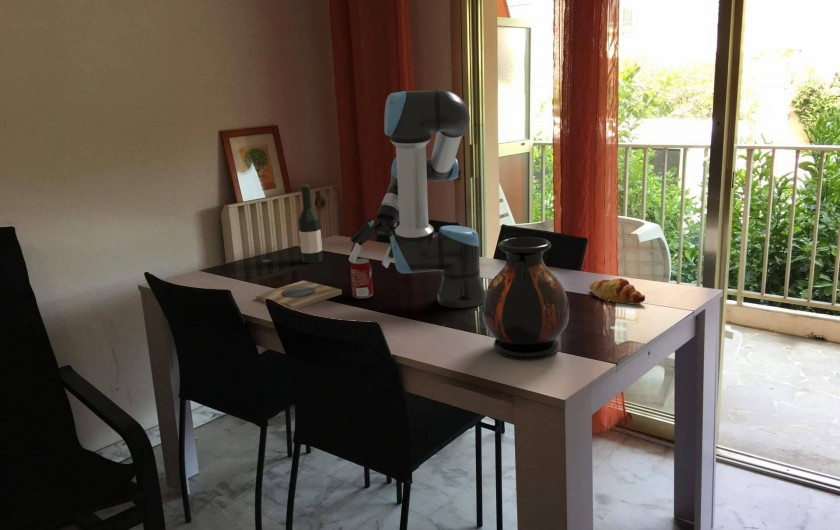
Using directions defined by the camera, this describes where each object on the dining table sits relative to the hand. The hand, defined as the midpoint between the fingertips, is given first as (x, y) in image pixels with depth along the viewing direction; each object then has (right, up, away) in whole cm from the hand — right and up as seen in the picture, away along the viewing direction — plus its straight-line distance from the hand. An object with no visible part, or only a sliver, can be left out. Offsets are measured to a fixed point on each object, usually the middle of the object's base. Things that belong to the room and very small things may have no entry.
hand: (367, 263), depth 239 cm
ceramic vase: (+44, -22, -53) cm, 73 cm away
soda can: (-1, -11, -2) cm, 11 cm away
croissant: (+77, -11, -18) cm, 79 cm away
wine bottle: (-25, +1, +46) cm, 53 cm away
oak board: (-23, -11, +1) cm, 25 cm away
